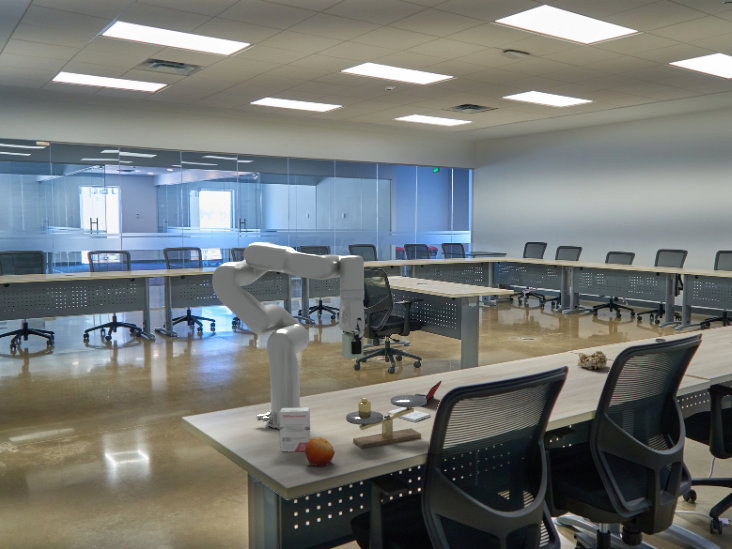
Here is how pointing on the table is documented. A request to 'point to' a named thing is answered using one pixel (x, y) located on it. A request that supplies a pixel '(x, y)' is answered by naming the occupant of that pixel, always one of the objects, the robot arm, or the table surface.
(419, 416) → the external hard drive
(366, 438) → the balance
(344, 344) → the sage block
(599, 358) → the mineral formation
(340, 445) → the table surface
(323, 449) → the fruit
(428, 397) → the handheld game console
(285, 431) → the ink box
